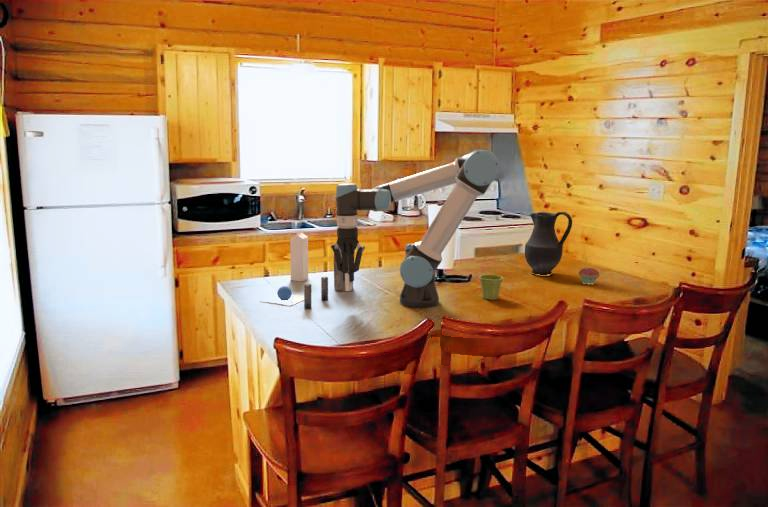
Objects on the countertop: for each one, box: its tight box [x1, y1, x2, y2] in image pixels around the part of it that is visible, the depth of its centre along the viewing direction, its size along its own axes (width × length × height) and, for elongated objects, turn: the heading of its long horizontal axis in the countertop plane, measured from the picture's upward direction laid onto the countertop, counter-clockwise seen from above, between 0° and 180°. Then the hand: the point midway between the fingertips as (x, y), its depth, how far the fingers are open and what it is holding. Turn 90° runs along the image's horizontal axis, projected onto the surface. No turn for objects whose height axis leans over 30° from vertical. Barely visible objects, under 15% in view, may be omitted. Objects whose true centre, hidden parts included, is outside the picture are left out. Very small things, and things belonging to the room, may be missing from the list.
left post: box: [303, 283, 312, 310], centre depth 227 cm, size 3×3×9 cm
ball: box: [276, 285, 293, 300], centre depth 237 cm, size 6×6×6 cm
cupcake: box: [578, 258, 600, 284], centre depth 270 cm, size 9×8×12 cm
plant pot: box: [478, 274, 504, 301], centre depth 245 cm, size 9×9×9 cm
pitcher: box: [524, 211, 573, 275], centre depth 284 cm, size 17×21×30 cm
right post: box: [320, 276, 329, 302], centre depth 238 cm, size 3×3×9 cm
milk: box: [289, 228, 309, 282], centre depth 268 cm, size 6×6×22 cm
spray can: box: [333, 248, 354, 292], centre depth 253 cm, size 8×8×20 cm
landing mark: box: [281, 294, 304, 306], centre depth 239 cm, size 14×14×1 cm
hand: (348, 290), depth 227 cm, fingers closed
